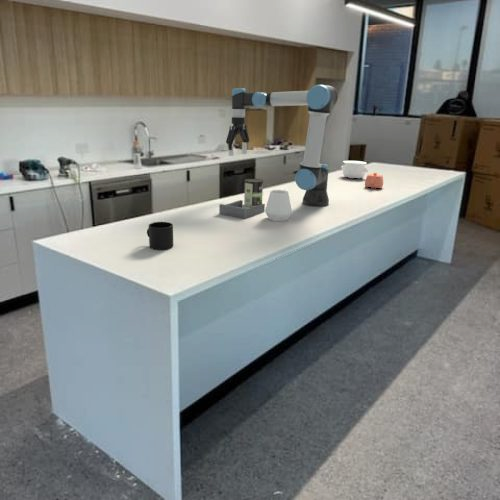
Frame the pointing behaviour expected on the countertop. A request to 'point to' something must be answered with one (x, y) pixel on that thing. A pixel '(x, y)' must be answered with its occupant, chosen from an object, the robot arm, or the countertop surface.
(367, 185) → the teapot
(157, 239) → the mug
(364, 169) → the pot
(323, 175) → the robot arm
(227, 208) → the grey u-shaped frame
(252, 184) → the coffee can
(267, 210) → the cup
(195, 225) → the countertop surface
